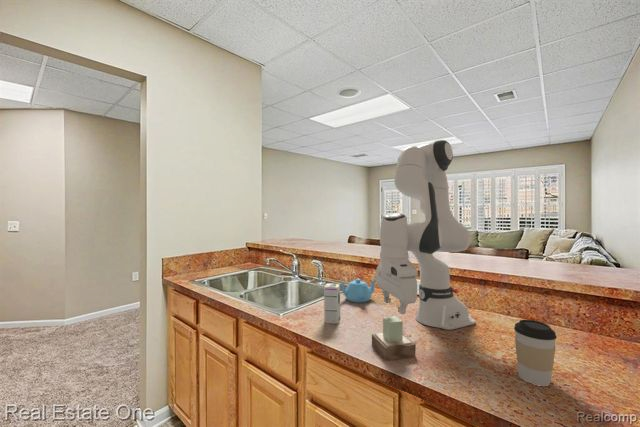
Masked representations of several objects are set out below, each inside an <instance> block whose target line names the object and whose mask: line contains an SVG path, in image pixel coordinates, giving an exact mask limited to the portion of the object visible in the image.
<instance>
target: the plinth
mask: <svg viewBox="0 0 640 427" xmlns="http://www.w3.org/2000/svg"><path fill="white" fill-rule="evenodd" d="M371 346H372V347H373V348H374V349H375V351H377V353H378V354H379V355H380V356H381V357H382V358H383V359H384V361H390V360H398V359H399V360H400V359H405V358H411V357H412V358H413V357H416V355H417V354H416V346H417V345H416V343H414V342H413V341H412V340H411V339H409V338H408V337H407V336H405V334H403V340H400V341H392V342H389V341H388V340H387V339H386V338H385V337H384V336H383V332H378V333H372V334H371Z"/></svg>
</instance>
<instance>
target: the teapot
mask: <svg viewBox="0 0 640 427" xmlns="http://www.w3.org/2000/svg"><path fill="white" fill-rule="evenodd" d="M338 281H339V283H340V286H341V291H342V294H343V295H344V296H345V298H346V300H347V301H349V302H351V303H356V304H357V303H361V304H362V303H366V302H369V301H370V300H371V298H372V294H373V293H374V291H375V283H376V278H374V279H372V281H371V283H370V287H369V285H368V284H367V282H366V281H363V280H362V279H361V278H356V279H354V280H351V281H350V282H349V283H348V285H347V286H345V282H344V281H342V280H338Z"/></svg>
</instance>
